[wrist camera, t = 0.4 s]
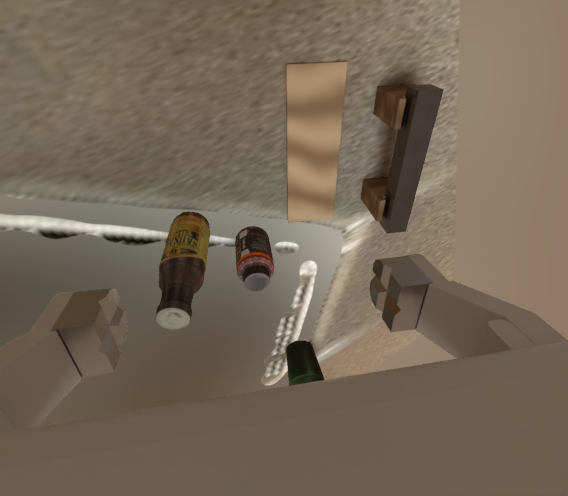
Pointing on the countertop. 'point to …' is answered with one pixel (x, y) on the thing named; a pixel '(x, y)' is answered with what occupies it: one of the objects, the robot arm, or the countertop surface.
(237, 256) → the supplement bottle
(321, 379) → the potion bottle
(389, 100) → the post
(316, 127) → the wooden plank
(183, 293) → the sauce bottle
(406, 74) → the countertop surface
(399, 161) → the rail
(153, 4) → the countertop surface
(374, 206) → the post
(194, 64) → the countertop surface
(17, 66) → the countertop surface
